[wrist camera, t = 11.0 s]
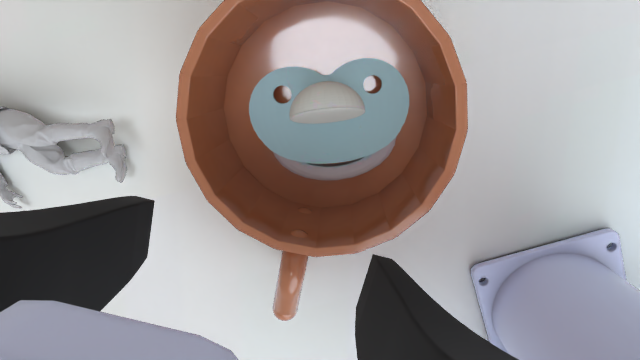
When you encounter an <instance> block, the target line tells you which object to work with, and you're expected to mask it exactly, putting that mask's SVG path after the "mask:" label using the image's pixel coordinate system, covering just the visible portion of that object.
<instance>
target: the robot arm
mask: <svg viewBox="0 0 640 360" xmlns="http://www.w3.org/2000/svg"><path fill="white" fill-rule="evenodd" d="M153 208H154V200H150V199H145V198H141V197H137V196H126V197H118V198H111V199H105V200H99V201H93V202H87V203H81V204H75V205H68V206H61V207H54V208H47V209H40V210H31V211H20V212H6V213H0V360H238V359H237V357H236V356H235V355H234V354H233V352H232V351H231V350H229V349H227V348H225V347H223V346H221V345H219V344H216V343H214V342H212V341H210V340H208V339H206V338H204V337H202V336H200V335H196V334H192V333H187V332H183V331H179V330H175V329H171V328H166V327H162V326H158V325H154V324H150V323H146V322H141V321H137V320H133V319H129V318H125V317H120V316H116V315H112V314H108V313H104V312H100V311H101V310H102V309H103V308H104V307H105V306H106V305H107V304H108V303H109V302H110V301H111V300H112V299H113V298H114V297H115V296H116V295H117V294H118V293H119V292H120V291H121V290H122V289H123V287H124V286H125V285H126V284H127V283H128V282H129V281H130V280H131V279H132V277H133V276H134V275H135V273H136V272H137V271H138V269H139V268H140V267H141V265H142V264H143V262H144V261H145V260H146V258H147V254H148V247H149V239H150V231H151V224H152V216H153ZM610 243H612V245H611V246H610V247H609V248H607V246H608V244H610ZM471 276H472V280H473V283H474V287H475V291H476V294H477V298H478V302H479V305H480V309H481V313H482V316H483V320H484V324H485V327H486V331H487V335H488V339H489V342H488V341H487V340H485V339H483V338H482V337H480V336H479V335H477V334H476V333H475V332H473V331H472V330H470V329H469V328H468V327H466V326H465V325H464V324H462V323H461V322H460V321H458V320H457V319H456V318H454V317H453V316H452V315H450V314H449V313H448V312H447V311H446V310H444V309H443V308H442V307H441V306H440V305H439V304H438V303H437V302H435V301H434V300H433V299H432V298H431V297H430V296H429V295H428V294H427V293H426V292H425V291H424V290H423V289H422V288H421V287H420V286H419V285H418V284H417V283H416V282H415V281H414V280H413V279H412V278H411V277H410V276H409V275H408V274H407V273H406V272H405V271H404V270H403V269H402V268H401V267H400V266H399V265H398V264H397V263H396V262H395V261H393V260H392V259H390V258H385V257H381V256H377V255H373V256H372V259H371V262H370V265H369V268H368V272H367V275H366V278H365V281H364V284H363V288H362V291H361V294H360V297H359V300H358V303H357V307H356V321H355V338H356V348H357V358H358V360H640V291H639V290H638V289H637V288H635V287H634V286H632V285H631V284H630V283H628V282H627V281H626V275H625V269H624V263H623V256H622V250H621V244H620V237H619V234H618V233H617V232H616V231H614V230H612V229H610V228H606V229H601V230H598V231H594V232H591V233H587V234H583V235H580V236H576V237H572V238H569V239H565V240H562V241H558V242H554V243H551V244H547V245H543V246H540V247H536V248H533V249H529V250H525V251H522V252H518V253H514V254H511V255H507V256H504V257H500V258H496V259H493V260H489V261H485V262H482V263H478V264H476V265H474V266H473V267H472V269H471ZM481 278H486V279H485V281H483V282H479V280H480V279H481Z"/></svg>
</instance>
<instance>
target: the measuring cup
mask: <svg viewBox="0 0 640 360" xmlns="http://www.w3.org/2000/svg"><path fill="white" fill-rule="evenodd" d="M362 58H374V59H379V60H382V61H384V62H387V63H388V64H390V65H392V66H393V67H394V68H395V69H397V70H398V71H399V73H400V74H401V75H402V77H403V78H404V80H405V83H406V85H407V88H408V92H409V109H408V114H407V117H406V120H405V123H404V124H403V126H402V128H401V130H400V132H399V133H398V135H397V136H396V141H395V145H394V147H393V149H392V151H391V153H390V155H389V156H388V157H387V158H386V159H385V160H384V161H383V162H382V163H381V164H380V165H378V166H377V167H375V168H373V169H372V170H370V171H368V172H366V173H364V174H361V175H358V176H355V177H352V178H347V179H341V180H316V179H310V178H306V177H303V176H300V175H298V174H295V173H293V172H291V171H290V170H288V169H287V168H285V167H284V166H282V165H281V163H280V162H279V161H278V160H277V158H276V157H275V155H274V152H273V151H271V150H270V149H269V148H268V147H267V146H266V145H265V144H264V143H263V142H262V141H261V139H260V138H259V137H258V136H257V134H256V132H255V131H254V129H253V126H252V123H251V120H250V115H249V102H250V98H251V94H252V92H253V90H254V88H255V86H256V85H257V84H258V82H259V81H260V80H261V79H262V78H263V77H265V76H266V75H267V74H268V73H270V72H272V71H274V70H277V69H280V68H284V67H303V68H307V69H310V70H313V71H316V72H318V73H319V74H321V75H330V74H332V73H333V72H334V71H335V70H336V69H337V68H339V67H341V66H342V65H344V64H345V63H348V62H350V61H353V60H357V59H362ZM381 84H382V83H381V80H380V78H379V77H377V76H375V75H371V76H368V77H367V78H366V79H365V80H364V82H363V87H364V89H365V91H366V92H368V93H372V94H373V93H376V92H378V91H379V90H380V88H381ZM291 96H292V93H291V90H290V89H289V88H288V87H287V86H283V85H281V86H278V87H277V88H276V89H275V91H274V97H275V99H276V101H278V102H280V103H287V102H288V101H289V100H290V99H291ZM176 122H177V127H178V131H179V136H180V140H181V144H182V149H183V153H184V158H185V162H186V164H187V166H188V168H189V170H190V171H191V173H192V175H193V177H194V178H195V180H196V182H197V184H198V185H199V187H200V189H201V191H202V192H203V194H204V196H205V198H206V199H207V200H208V202H209V203H210V204H211V205H212V206H213V207H214V208H215V209H216V210H217V211H219V212H220V213H221V214H222V215H223V216H224V217H225V218H226V219H227V220H228V221H229V222H230V223H231V224H232V225H233V226H234V227H235V228H236V229H238V230H239V231H241V232H243V233H245V234H247V235H249V236H251V237H252V238H254V239H256V240H258V241H260V242H262V243H264V244H266V245H268V246H270V247H272V248H274V249H277V250H282V251H283V253H282V259H281V264H280V270H279V275H278V281H277V286H276V292H275V297H274V303H273V313H274V315H275V316H276V317H277V318H278V319H279V320H282V321H288V320H290V319H292V318H293V317H294V316H295V315H296V313H297V310H298V305H299V300H300V295H301V290H302V285H303V280H304V275H305V270H306V265H307V260H308V256H313V257H315V256H316V257H322V256H332V255H343V254H354V253H359V252H361V251H364V250H366V249H369V248H371V247H374V246H376V245H379V244H381V243H384V242H386V241H389V240H391V239H394V238H395V237H397V236H399V235H400V234H401V233H402V232H404V231H405V230H406V229H407V228H409V227H410V226H411V225H412V224H414V223H415V222H416V221H417V220H419V219H420V218H421V217H422V216H424V215H425V214H426V213H427V212H429V210H430V209H431V208H432V206H433V205H434V203H435V202H436V201H437V199H438V198H439V196H440V195H441V193H442V192H443V190H444V189H445V187H446V186H447V184H448V183H449V181H450V180H451V179H452V177H453V176H454V173H455V171H456V168H457V164H458V161H459V158H460V154H461V151H462V148H463V144H464V141H465V138H466V134H467V129H468V117H467V84H466V79H465V76H464V73H463V71H462V68H461V65H460V62H459V60H458V57H457V54H456V51H455V49H454V46H453V43H452V40H451V38H450V37H449V35H448V33H447V32H446V31H445V30H444V28H443V27H442V26H441V25H440V23H439V22H438V21H437V20H436V18H435V17H434V16H433V15H432V14H431V12H430V11H429V10H428V9H427V7H426V6H425V5H424V4H423V2H422V1H421V0H224V1H223V2H222V3H221V4H220V5H219V6H218V8H217V9H216V10H215V11H214V12H213V13H212V14H211V15H210V17H209V18H208V19H207V20H206V21H205V22H204V23H203V24H202V25H201V27H200V28H199V30H198V31H197V33H196V36H195V38H194V40H193V43H192V45H191V47H190V50H189V52H188V55H187V57H186V59H185V62H184V64H183V66H182V69H181V71H180V75H179V87H178V99H177V110H176ZM346 162H349V161H346ZM340 163H345V162H340ZM329 164H339V163H329Z"/></svg>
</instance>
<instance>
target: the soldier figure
mask: <svg viewBox="0 0 640 360" xmlns="http://www.w3.org/2000/svg"><path fill="white" fill-rule="evenodd" d="M112 134H114V124H113V122H112V120H111V119H107V120H104V119H103V120H100V121H97V122H95V123H92V124H88V123H79V124H68V123H56V124H50V125H45V124H44V123H43V122H42V121H40V120H38V119H36V118H34V117H33V116H32V115H31V114H28V113H25V112H22V111H19V110H15V109H8V108H6V107H0V154H11V153H13V152H14V151H15V150H16V149H18V150H20V151H21V152H22V153H23V154H24V155H25V157H26V158H27V159H28V160H29V161H30V162H32V163H33V164H35V165H37V166H39V167H41V168H43V169H44V170H46V171H48V172H50V173H53V174H58V175H66V174H77V173H79V171H81V170H84V169H87V168H89V167H93V166H97V165H100V164H106V163H109V164H110V165H111V166H112V167H113V168H114V169H115V171H116V176H115V178H116V180H117V181H118V182H120V183H122V182H123V180H124V178H125V176H126V171H127V167H126V164H125V160H124V158H126V150H125V147H124V145H120V146H119V145H116V146H114V142H113V138H112ZM87 137H90V138H95V139H96V140H97V141H99V143H100V144H101V149H98V150H95V151H86V152H81V153H72V154H71V155H70V156H65V154H64V151H63V150H62V149H61V148H60V147H59V146H58V145H57V143H58V142H59V141H65V140H72V139H82V138H87ZM7 186H8V185H7V182H6V180H5V179H4V177H3V176H2V174H1V172H0V197H1V198H2V200H3V201H4V202H5V203H7V204H9V205H10V206H12V207H14V208H19V209H21V208H22V207H21V206H18V205H16V204H17V203H16V202H14V201H13V198H14V197H21V198H22V196H21V195H18V194H16V193H14V192H12V191H9V190H8V189H6V187H7Z"/></svg>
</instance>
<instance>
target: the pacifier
mask: <svg viewBox="0 0 640 360" xmlns="http://www.w3.org/2000/svg"><path fill="white" fill-rule="evenodd" d="M371 75H375V76H377V77H379V78H380V80H381V83H382V84H381V88H380V90H379V91H378V92H376V93H373V94H372V93H368V92H366V91H365V89H364V87H363V82H364V80H365V79H366V78H367V77H368V76H371ZM281 85H283V86H287V87H288V88H289V89H290V90H291V93H292V96H291V99H290V100H289V101H288V102H287V103H280V102H278V101H276V99H275V97H274V91H275V89H276V88H277V87H278V86H281ZM408 109H409V92H408V88H407V85H406V83H405V80H404V78H403V77H402V75H401V74H400V73H399V71H398V70H397V69H395V68H394V67H393V66H392V65H390V64H388V63H387V62H384V61H382V60H379V59H374V58H362V59H357V60H353V61H350V62H348V63H345V64H344V65H342V66H341V67H339V68H337V69H336V70H335V71H334V72H333V73H332V74H330V75H321V74H319V73H318V72H316V71H313V70H310V69H307V68H303V67H284V68H280V69H277V70H274V71H272V72H270V73H268V74H267V75H266V76H265V77H263V78H262V79H261V80H260V81H259V82H258V84H257V85H256V86H255V88H254V90H253V92H252V94H251V98H250V102H249V115H250V120H251V123H252V126H253V129H254V131H255V132H256V134H257V136H258V137H259V138H260V139H261V141H262V142H263V143H264V144H265V145H266V146H267V147H268V148H269V149H270V150H271V151H273V152H274V155H275V157H276V158H277V160H278V161H279V162H280V163H281V165H282V166H284V167H285V168H287V169H288V170H290V171H291V172H293V173H295V174H298V175H300V176H303V177H306V178H310V179H316V180H341V179H347V178H352V177H355V176H358V175H361V174H364V173H366V172H368V171H370V170H372V169H373V168H375V167H377V166H378V165H380V164H381V163H382V162H383V161H384V160H385V159H386V158H387V157H388V156H389V155H390V153H391V151H392V149H393V147H394V145H395V141H396V136H397V135H398V133H399V132H400V130H401V128H402V126H403V124H404V123H405V120H406V117H407V114H408ZM346 161H349V162H346ZM340 162H345V163H340ZM329 163H339V164H329Z"/></svg>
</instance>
